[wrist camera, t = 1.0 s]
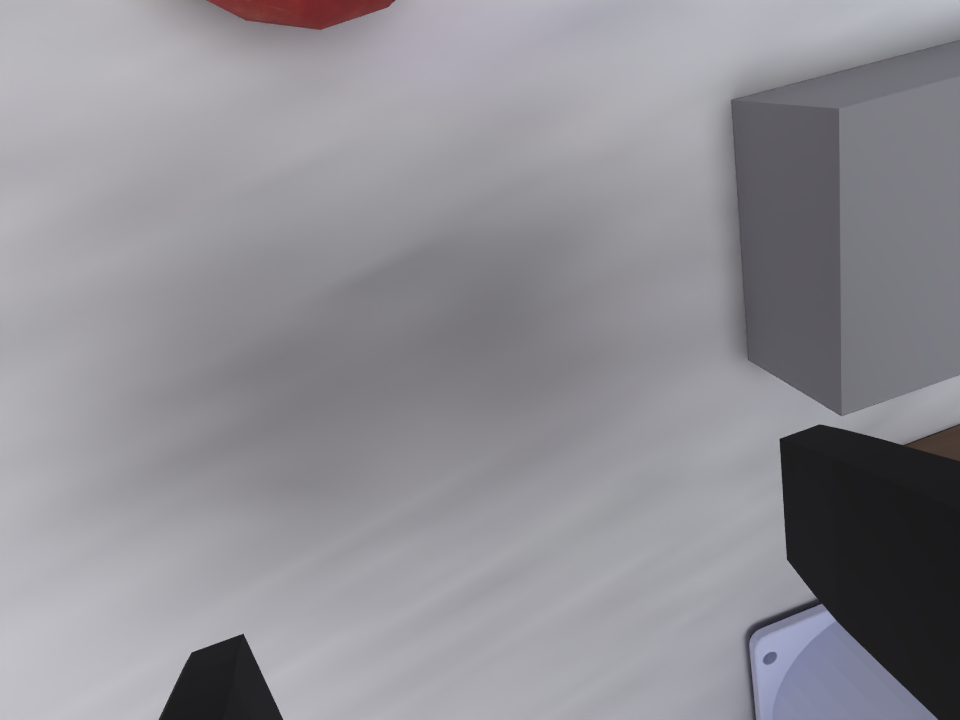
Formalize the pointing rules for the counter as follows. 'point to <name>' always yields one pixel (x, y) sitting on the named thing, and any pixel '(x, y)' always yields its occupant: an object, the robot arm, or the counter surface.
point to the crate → (854, 228)
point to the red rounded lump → (302, 11)
